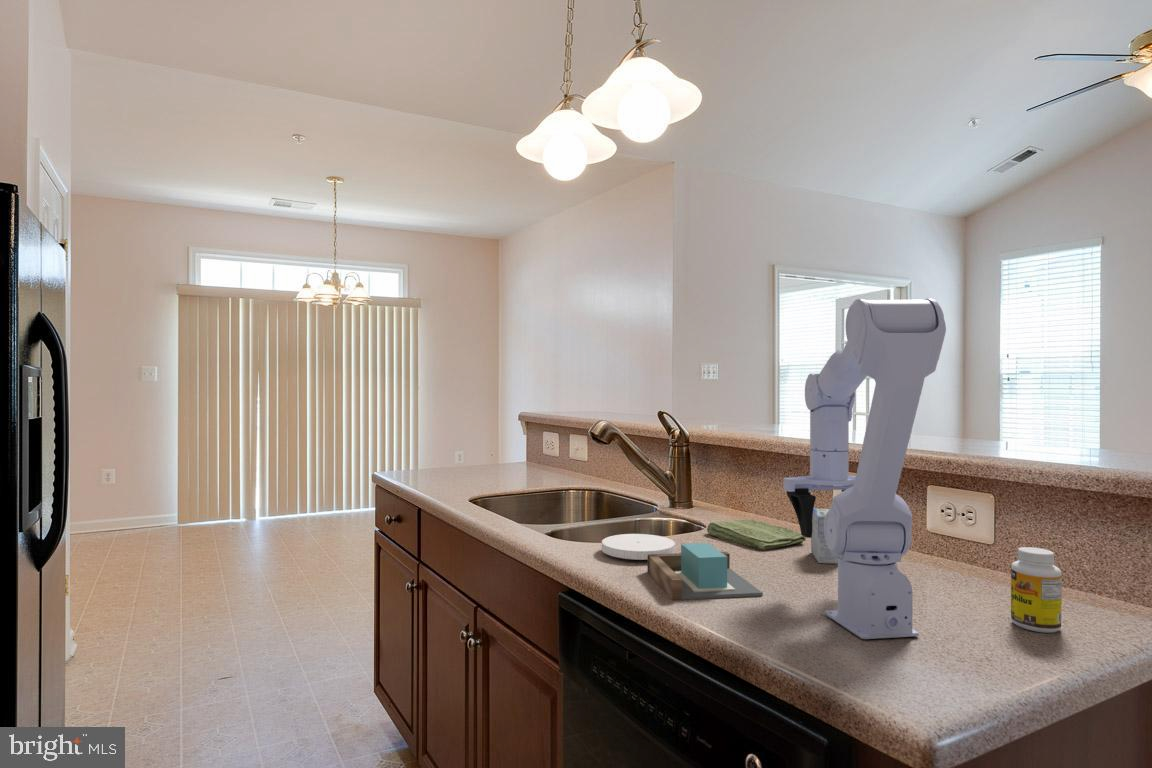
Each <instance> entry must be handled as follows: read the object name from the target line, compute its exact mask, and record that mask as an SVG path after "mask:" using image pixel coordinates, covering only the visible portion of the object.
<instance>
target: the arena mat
mask: <svg viewBox="0 0 1152 768" xmlns="http://www.w3.org/2000/svg"><path fill="white" fill-rule="evenodd" d="M673 571H674V572H675V573H676V574H677V575H678V576H679V577H680V578H681V579H682V597H681V598H682V600H684V601H685V600H703V599H704V600H705V599H725V598H726V599H727V598H729V599H730V598H745V597H763V596H764V595H763V594H764V593H763V592H762V591H761V590H760V589H758V588H756V587H755V586H754V585H753V584H752V583H751V582H749V581H747V580H746V579H745V578H743V577H742V576H741V575H740V574H738V573H737V572H735V571H734V570H733V569H732V568H731V567H730V568H727V587H726V588H705V589H699V588H698V587H696V586H695V585H694V584H693V583H692V582H691V581H690V580H689V579H688V578H687V577H686V576H685V575H683V574H682V573H681V570H673ZM676 598H677V597H676ZM676 598H675V599H676ZM675 599H674V600H673V601H676V600H675ZM678 599H679V600H678V601H682V600H681V599H680V597H679V598H678Z"/></svg>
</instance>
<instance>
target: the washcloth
mask: <svg viewBox="0 0 1152 768" xmlns="http://www.w3.org/2000/svg"><path fill="white" fill-rule="evenodd" d="M706 531H707V533H708V534H709V536H713V537H716V538H719V539H721V540H725V541H728V542H731V543H737V544H740V545H744V546H748V547H751V548H754V549H756V550H759V551H767V550H771V549H776V548H783V547H786V546H790V545H796V544H803V542H805V541H807V540H806V539H807V537H804V536H802V535H801V532H799V531H796V530H794V529H792V528H788V527H783V526H779V525H775V524H769V523H766V522H763V521H760V520H755V519H752V518H751V519H746V518H745V519H735V520H731V521H729V520H728V521H723V520H722V521H713V522H709V524H708V525H707V528H706Z"/></svg>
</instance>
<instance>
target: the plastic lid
mask: <svg viewBox="0 0 1152 768" xmlns="http://www.w3.org/2000/svg"><path fill="white" fill-rule="evenodd" d="M601 551H602V552H603V553H604V554H606V555H608V556H611V557H613V558H619V559H625V560H637V561H638V560H639V561H641V560H642V561H643V560H645V561H646V560H647V561H648V554H673V553H676V542H675V541H674V540H673V539H671V538H669V537H666V536H662V535H656V534H646V533H645V534H644V533H624V534H623V533H621V534H615V535H611V536H608V537H607V536H606V537H605V538H603V539H602V540H601Z"/></svg>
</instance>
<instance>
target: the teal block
mask: <svg viewBox="0 0 1152 768" xmlns="http://www.w3.org/2000/svg"><path fill="white" fill-rule="evenodd" d="M721 552H722V551H720V550H718V549H717V548H715V547H714V546H713V545H711V544H710V543H708V542H700V543H699V542H698V543H697V542H696V543H695V542H694V543H681V544H680V553H681V573H682V574H683V575H685V576H686V577H687V578H688V579H689V580H690V581H691V582H692V583H693V584H694V585H695V586H696V587H698V588H699V589H705V588H726V587H727V556H726V555H724V554H723V553H721Z"/></svg>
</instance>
